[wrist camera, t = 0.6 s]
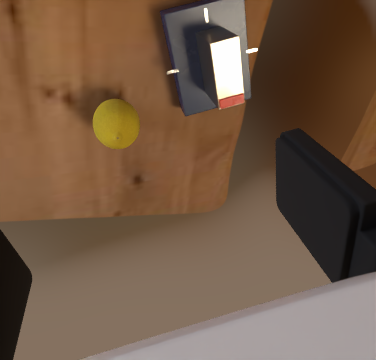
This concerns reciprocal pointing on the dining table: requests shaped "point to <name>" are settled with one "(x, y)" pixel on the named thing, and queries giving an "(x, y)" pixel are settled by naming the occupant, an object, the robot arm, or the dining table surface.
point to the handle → (221, 66)
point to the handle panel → (188, 50)
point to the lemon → (116, 123)
